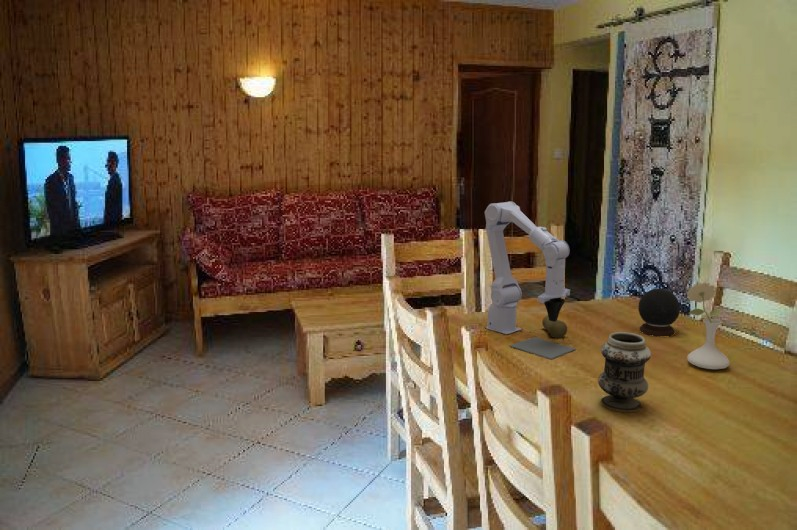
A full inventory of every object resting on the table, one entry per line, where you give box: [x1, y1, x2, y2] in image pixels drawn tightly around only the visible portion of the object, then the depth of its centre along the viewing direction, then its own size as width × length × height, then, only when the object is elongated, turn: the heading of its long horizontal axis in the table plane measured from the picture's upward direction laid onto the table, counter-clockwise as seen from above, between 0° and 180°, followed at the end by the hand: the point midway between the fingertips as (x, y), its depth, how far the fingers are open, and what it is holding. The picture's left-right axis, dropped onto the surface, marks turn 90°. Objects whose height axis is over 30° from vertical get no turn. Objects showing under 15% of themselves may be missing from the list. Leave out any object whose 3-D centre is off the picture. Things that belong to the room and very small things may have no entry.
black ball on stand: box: [637, 288, 681, 337], centre depth 222 cm, size 13×13×15 cm
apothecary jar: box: [597, 331, 652, 413], centre depth 164 cm, size 12×12×18 cm
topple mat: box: [509, 336, 577, 360], centre depth 208 cm, size 16×13×1 cm
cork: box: [541, 315, 568, 339], centre depth 222 cm, size 6×6×11 cm
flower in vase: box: [686, 281, 731, 370], centre depth 190 cm, size 13×11×25 cm
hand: (552, 320), depth 209 cm, fingers closed
